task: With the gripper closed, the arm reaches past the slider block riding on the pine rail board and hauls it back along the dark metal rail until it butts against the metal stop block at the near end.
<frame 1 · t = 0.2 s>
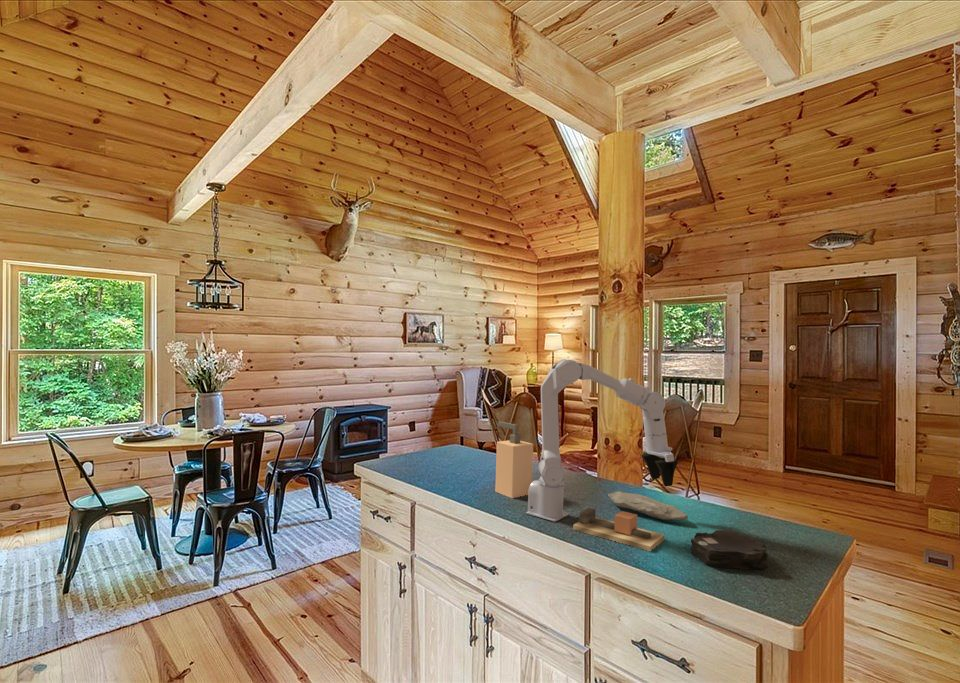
hand: (661, 482, 134), 10 cm above the table, tool pointing down, fingers open, 7 cm apart
stone tool: (645, 514, 139), on the table
rail board: (617, 534, 121), on the table
soap dispenser: (509, 491, 156), on the table
rock sample: (730, 561, 109), on the table
slider block: (625, 522, 120), point 3 cm above the table, slide at 2.0 cm
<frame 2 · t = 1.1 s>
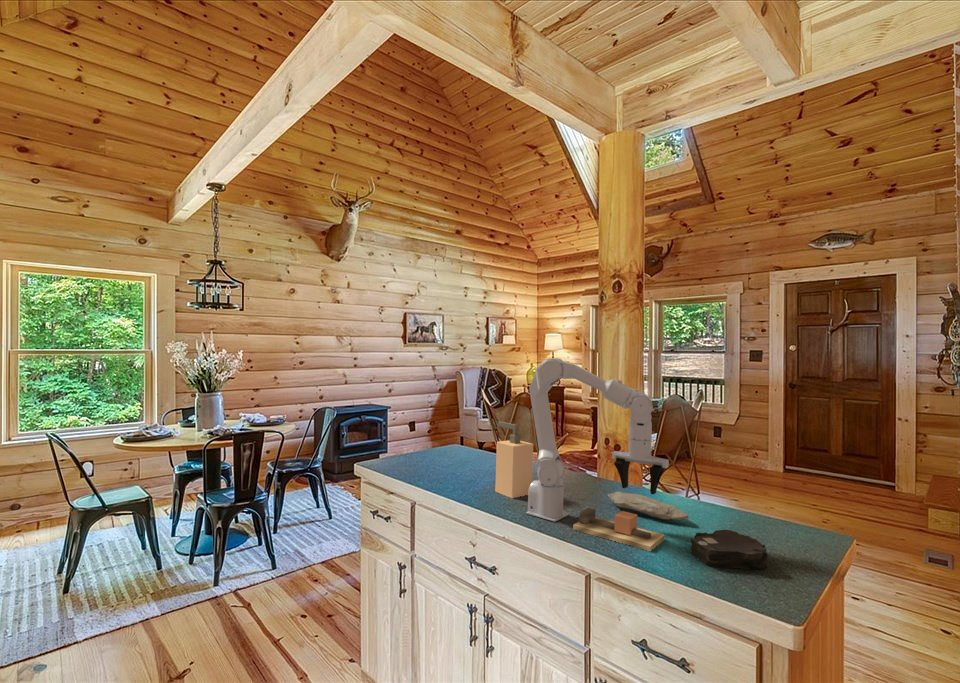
hand: (638, 490, 127), 10 cm above the table, tool pointing down, fingers open, 7 cm apart
nothing on the table moved.
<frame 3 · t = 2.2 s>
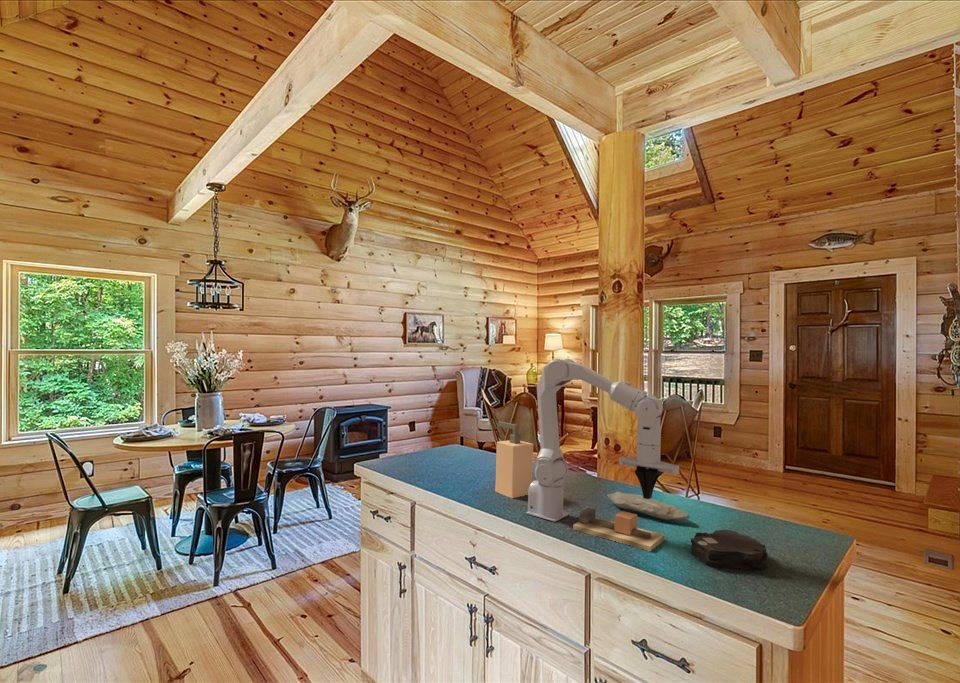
hand: (647, 498, 121), 10 cm above the table, tool pointing down, fingers closed
nothing on the table moved.
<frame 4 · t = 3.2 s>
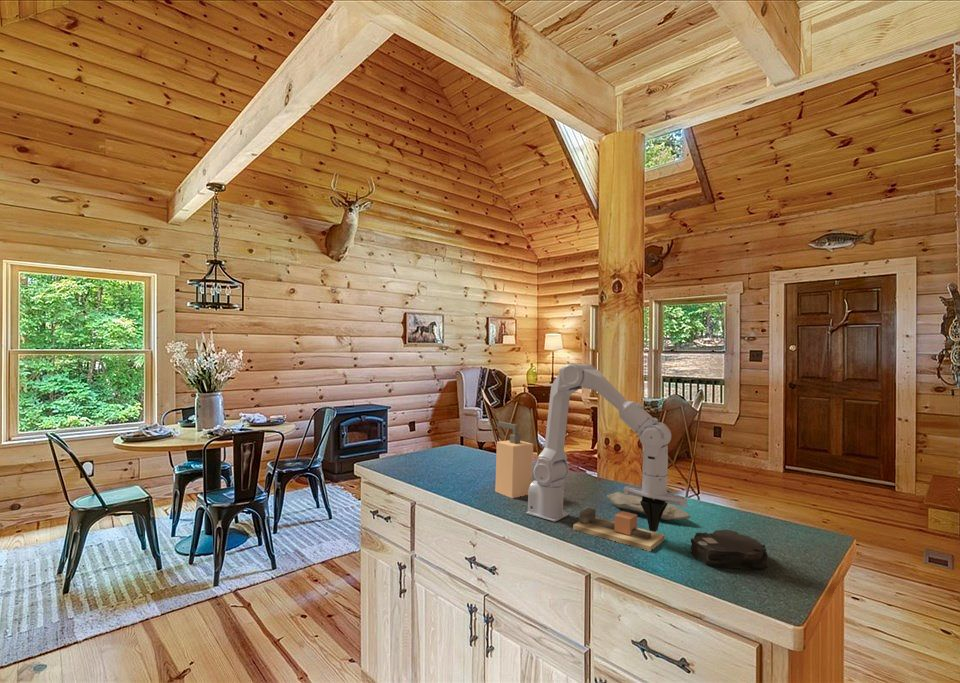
hand: (653, 530, 116), 3 cm above the table, tool pointing down, fingers closed
nothing on the table moved.
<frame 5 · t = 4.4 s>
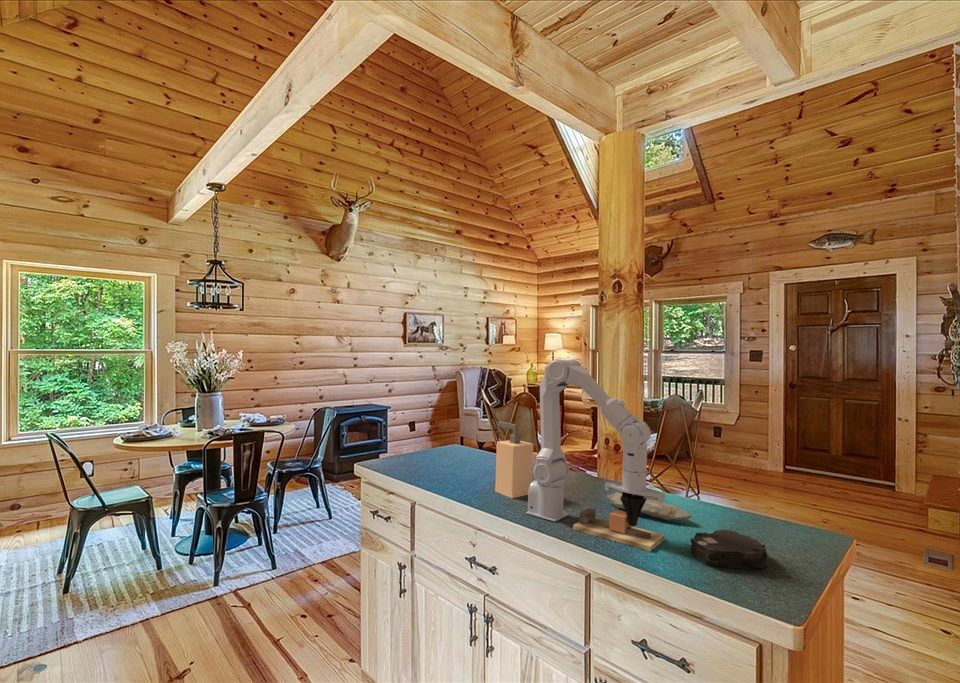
hand: (632, 524, 119), 3 cm above the table, tool pointing down, fingers closed
slider block: (620, 521, 121), point 3 cm above the table, slide at 0.6 cm, touching gripper
everything else where it was.
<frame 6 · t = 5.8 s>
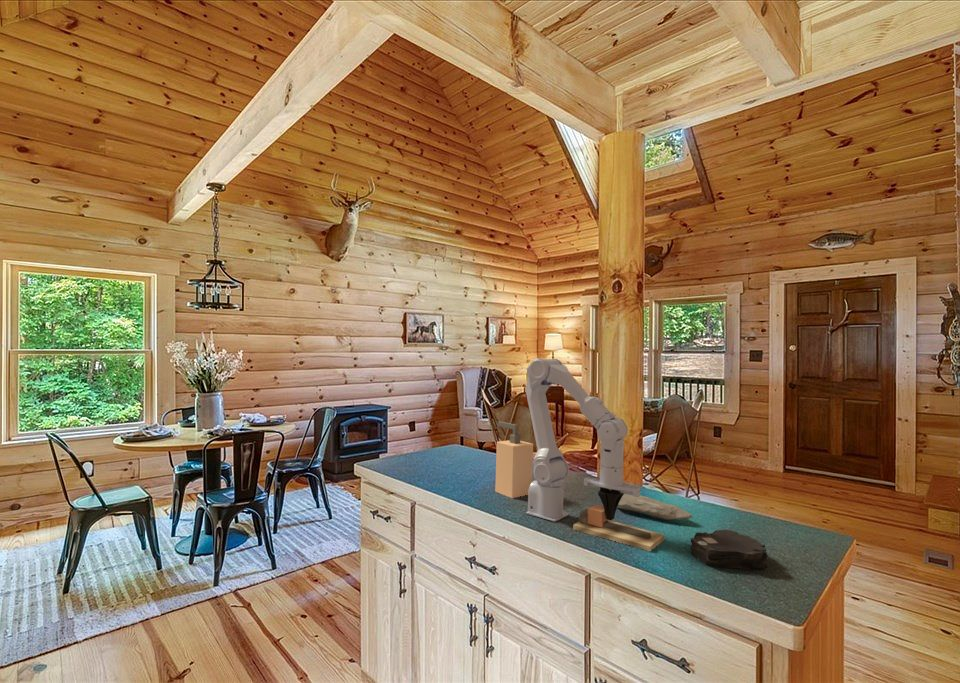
hand: (610, 518, 123), 3 cm above the table, tool pointing down, fingers closed
slider block: (598, 515, 125), point 3 cm above the table, slide at -5.4 cm, touching gripper
everything else where it was.
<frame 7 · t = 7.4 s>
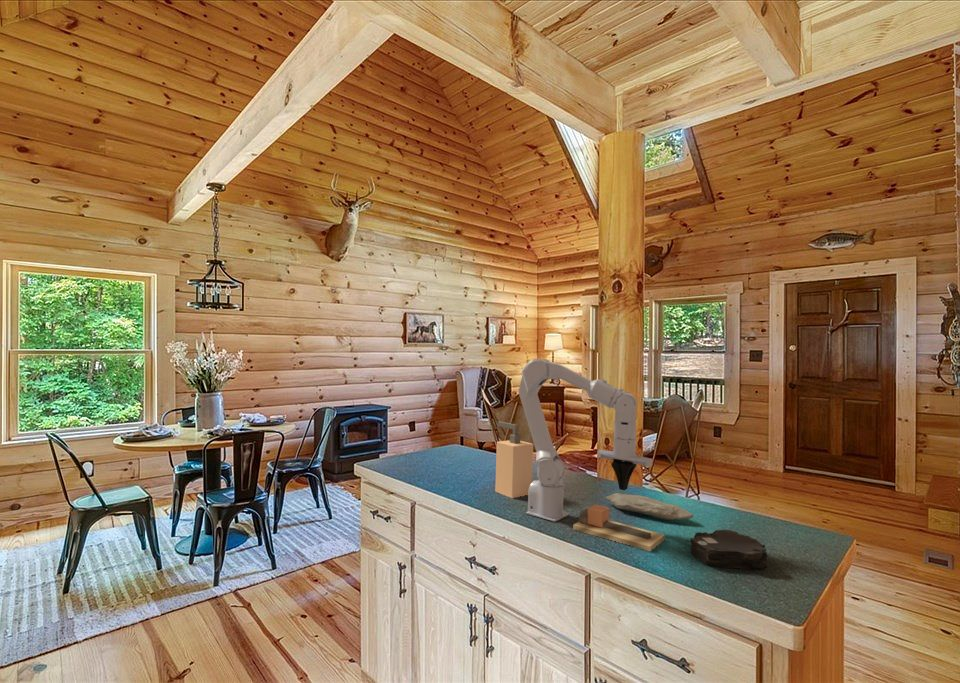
hand: (623, 489, 128), 10 cm above the table, tool pointing down, fingers closed
slider block: (598, 515, 125), point 3 cm above the table, slide at -5.4 cm
everything else where it was.
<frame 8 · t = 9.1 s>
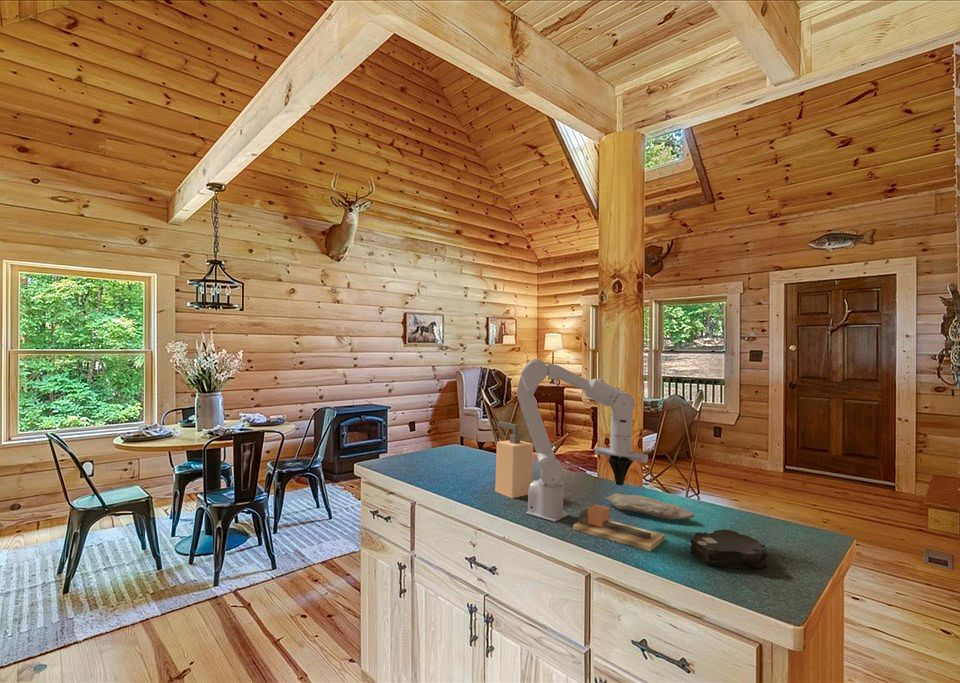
hand: (619, 484, 132), 10 cm above the table, tool pointing down, fingers closed
at the end: slider block slide at -5.4 cm; the gripper is holding nothing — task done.
